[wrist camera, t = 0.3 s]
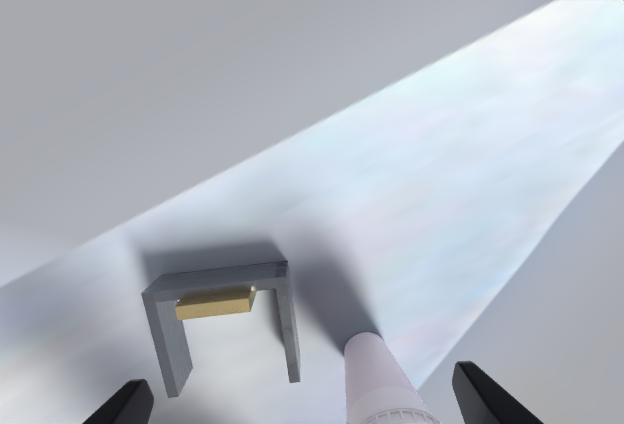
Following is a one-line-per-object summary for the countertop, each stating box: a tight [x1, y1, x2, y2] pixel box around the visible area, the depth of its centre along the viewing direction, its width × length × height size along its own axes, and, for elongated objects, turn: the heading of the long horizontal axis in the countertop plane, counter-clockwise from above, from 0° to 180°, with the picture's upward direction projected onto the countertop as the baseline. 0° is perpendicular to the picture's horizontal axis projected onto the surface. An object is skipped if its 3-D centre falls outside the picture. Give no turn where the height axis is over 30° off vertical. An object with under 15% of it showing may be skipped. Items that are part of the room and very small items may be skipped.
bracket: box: [141, 261, 300, 398], centre depth 22 cm, size 9×10×4 cm
